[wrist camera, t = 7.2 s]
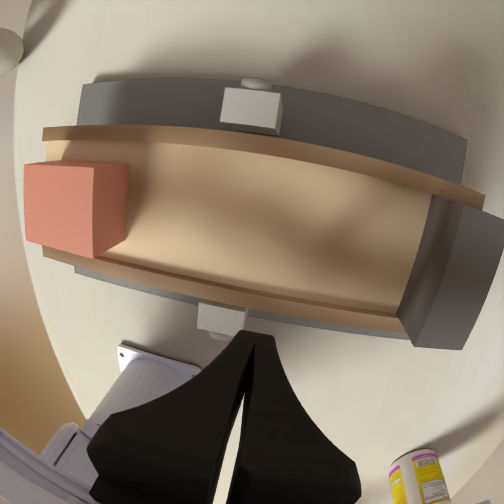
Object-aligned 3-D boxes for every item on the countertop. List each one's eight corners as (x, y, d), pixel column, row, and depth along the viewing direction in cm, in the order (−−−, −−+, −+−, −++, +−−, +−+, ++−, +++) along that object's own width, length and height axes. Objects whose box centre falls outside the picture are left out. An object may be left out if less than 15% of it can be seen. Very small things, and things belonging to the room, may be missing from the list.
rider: (125, 240, 15) (93, 258, 12) (59, 226, 15) (26, 240, 12) (129, 163, 13) (93, 167, 10) (60, 159, 14) (24, 164, 11)
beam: (428, 322, 15) (454, 363, 11) (57, 249, 17) (17, 270, 13) (470, 191, 12) (514, 204, 8) (59, 127, 14) (13, 128, 10)
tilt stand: (405, 333, 20) (430, 380, 15) (81, 268, 22) (37, 297, 17) (459, 140, 15) (510, 140, 10) (90, 86, 17) (39, 75, 12)
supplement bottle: (396, 477, 27) (407, 551, 15) (380, 464, 26) (392, 549, 14) (439, 456, 25) (459, 529, 13) (429, 440, 24) (453, 525, 12)
